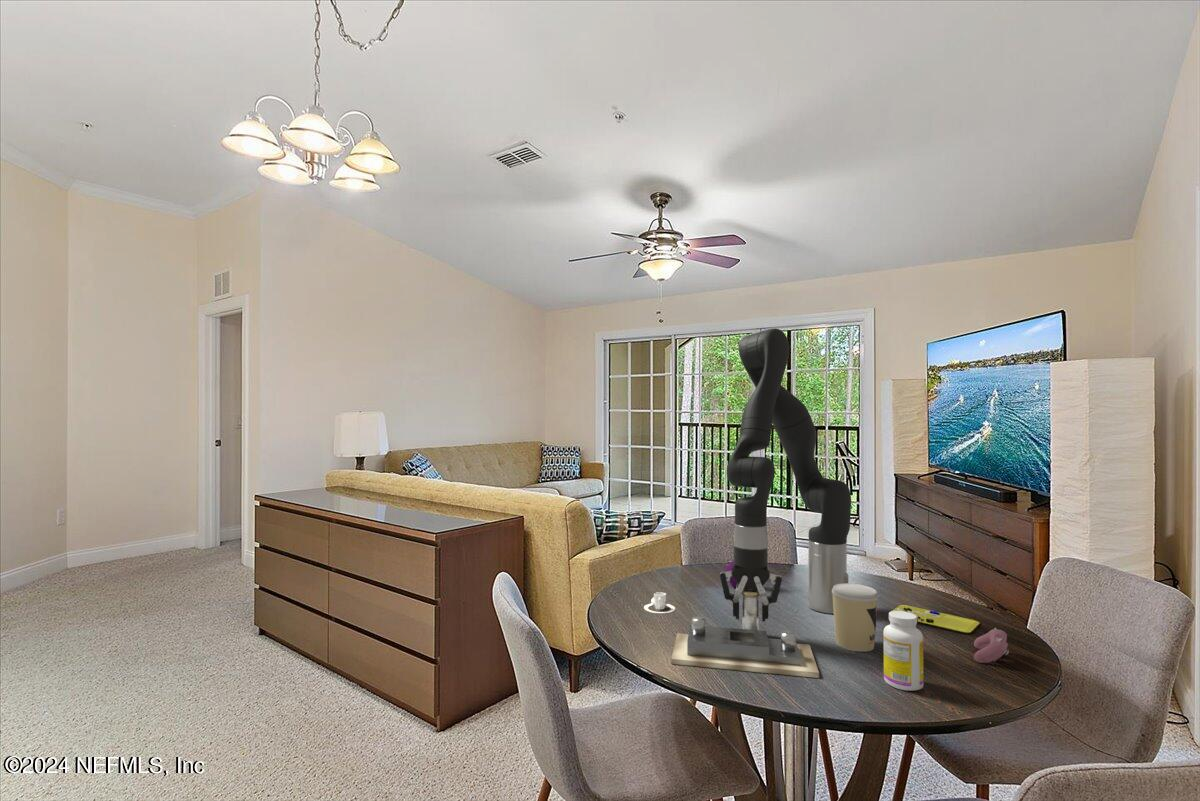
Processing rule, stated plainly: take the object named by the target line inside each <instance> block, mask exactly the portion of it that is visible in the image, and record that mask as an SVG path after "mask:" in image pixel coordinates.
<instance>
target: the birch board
mask: <svg viewBox="0 0 1200 801" xmlns="http://www.w3.org/2000/svg"><path fill="white" fill-rule="evenodd" d="M688 634H689V633H688ZM688 634H687V633H678V632H677V633H676V638H675V642H674V644H673V645H674V647H673V649H672V655H671V659H670V660H671V661H670V662H671V665H678V666H679V665H680V666H688V667H689V666H690V667H702V668H708V669H709V668H710V669H711V668H713V669H719V670H720V669H721V670H730V671H731V670H733V671H742V672H751V673H752V672H754V673H763V674H773V675H774V674H775V675H785V676H792V677H793V676H794V677H795V676H796V677H804V678H813V679H814V678H816V679H819V678H820V671H819V668H818V666H817V663H816V660H815V657H814V654H813V651H812V649H811V648H812V647H811V646H810V644H805V643H797V646H798V649H799V653H800V656H801V666H798V665H788V664H777V663H766V662H755V661H744V660H734V659H723V658H712V657H701V656H691V655H687V640H688Z"/></svg>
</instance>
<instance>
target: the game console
mask: <svg viewBox="0 0 1200 801" xmlns="http://www.w3.org/2000/svg"><path fill="white" fill-rule="evenodd" d="M891 611H904V612H909V613H912V614H914V615H916V616H917V624H916V625H923V626H926V627H930V628H935V629H939V630H943V631H948V632H952V633H956V634H960V635H973V634H972V633H974V632H975V631H976V630H977V629H978V628H979V627H980V622H979V621H977V620H975V619H971V618H966V617H961V616H958V615H953V614H949V613H943V612H940V611H936V610H930V609H926V608H921V607H916V606H911V605H906V604H905V605H904V604H902V605H901V604H900V605H898V606H897V607H895V608H894V609H893V610H891Z"/></svg>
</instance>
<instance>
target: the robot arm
mask: <svg viewBox="0 0 1200 801" xmlns="http://www.w3.org/2000/svg"><path fill="white" fill-rule="evenodd" d="M738 354H739V358H740V360H741V361H740V362H741V363H742V365H743V367H744V369H745V371H746V373H747V374H748V376H749V378H750V379H751V381H752V384H753V385H754V387H755V389H754V391H753V392H752V394H751V396H750V397H749V398H748V400H747V402H746V404H745V406H744V409H743V412H742V416H741V420H740V421H741V422H740V430H739V436H738V440H737V443H736V445H735V448H734V450H733V452H732V453H731V454H732V455H731V457H730V458H729V460H728V463H727V466H726V467H727V468H726V478H727V479H728V480H727V481H728V482H729V483H730V485H732V486H735V487H739V488H752V489H753V488H754V489H755V488H756V491H755V494H754V495H751V496H745V497H743V496H742V497H740V498H737V499H736V501H735V503H734V523H735V525H734V530H733V539H732V540H733V541H732V543H733V559H734V566H733V568H732V570H731V571H727V572H725V571H724V570H721V571H720V573H719V577H720V578H719V579H720V582H721V586H722V591H723V596H724V599H725V600H727V601H728V600H729V601H731V602H732V616H733V617H735V619H736V620H740V598H741V595H742V591H743V590H749V589H751V590H755V591H759V594H760V595H759V597H760V598H761V601H762V602H761V621H762V622H766V620H768V619H769V607H770V604H776V603H777V601H778V599H779V598H778V597H779V594H780V589H781V585H782V581H783V578H782V576H781V575H780V574H778V573H777V574H773V573H770V571H769V569H768V564H769V562H768V560H769V558H768V557H769V556H768V555H769V554H768V551H769V550H768V549H769V548H768V547H769V540H768V539H769V537H768V536H769V534H768V528H767V527H768V526H767V523H768V522H767V521H768V520H767V519H768V516H767V510H768V500H769V497H770V492H771V489H772V485H773V482H774V480H775V476H776V468H775V465H774V463H773V461H772V460H771V459H770V458H768V457H766V456H764V457H763V456H750V455H751V454H752V453H753V452H757V451H761V450H765V449H767V448H768V447H769V446H770V444H771V435H772V428H774V430H775V432H776V435H777V437H778V439H779V441H780V443H781V446H782V448H783V451H784V452H785V455H786V458H787V459H788V462H789V465H790V466H791V470H792V473H793V475H794V479H795V481H796V484H797V488H798V492H799V494H800V498H801V500H802V501H803V504H804V506H805V507H806V508H807V509H808V510H810V511H812V512H813V513H817V514H821V519H820V523H819V525H817V526H813V527H811V528H809V530H808V579H807V581H808V591H807V592H808V597H807V600H808V607H809V608H810V609H812V610H814V611H816V612H819V613H824V614H833V615H834V610H833V594H832V589H833V587H834V586H835V585H837V584H850V583H849V582H850V581H849V574H848V571H847V567H848V564H847V557H848V556H847V554H848V553H847V552H848V550H847V549H848V548H847V546H848V544H847V543H848V540H847V539H848V535H849V532H850V528H851V515H852V514H851V512H852V494H851V490H850V488H849V486H848V485H847V483H846V482H844V481H841V480H838V479H833V478H826V477H824V476H823V475H822V473H821V472H820V469H819V467H818V464H817V462H816V459H815V449H816V444H817V443H816V442H817V430H816V427H815V424H814V422H813V419H812V417H811V415H810V412H809V410H808V408H807V407H806V405H805V404H804V402H802V401H801V400H800V399H799V398H798V397H796V396H795V395H794V394H793V393H792V392H790V391H789V390H788V389H786V388H785V387H784V386H783V385H782V383H783V379H784V374H785V371H786V369H787V366H788V361H789V356H790V343H789V339H788V336H787V335H786V333H784V331H783V330H781V329H779V328H777V327H775V328H769V329H764V330H761V331H758V332H754V333H751V334H748V335H746V336H743V337H742V338H740V341H739V343H738ZM731 576H733V578H734V579H735V580H736V582H737V583H738V584H737V586H736V588H734V589H735V590H734V592H733V593H731V591H730V587H729V583H728V582H729V581H730V577H731ZM769 579H770V583H771V585H772V589H771V593H770V595H768V596H767V594H766V590H765V588H764V587H765V586H764V585H765V584H766V583H767V582H768V580H769Z"/></svg>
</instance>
